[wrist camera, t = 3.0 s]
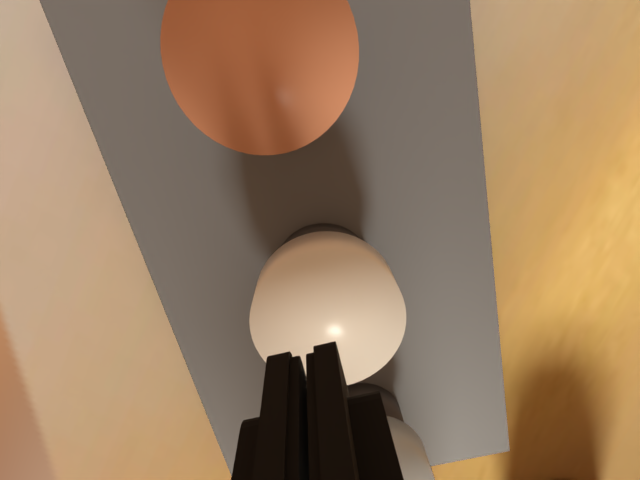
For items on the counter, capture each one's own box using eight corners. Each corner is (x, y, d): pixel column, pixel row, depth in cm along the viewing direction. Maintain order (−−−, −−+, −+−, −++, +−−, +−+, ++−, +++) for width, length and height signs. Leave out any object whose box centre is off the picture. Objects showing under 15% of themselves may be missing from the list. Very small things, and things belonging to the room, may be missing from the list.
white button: (382, 216, 14) (392, 234, 12) (404, 340, 16) (416, 371, 14) (238, 248, 14) (229, 270, 12) (276, 367, 16) (272, 400, 14)
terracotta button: (332, -60, 11) (336, -86, 9) (366, 126, 13) (375, 131, 11) (155, -15, 11) (129, -32, 10) (211, 163, 13) (197, 173, 11)
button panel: (439, -96, 15) (475, -147, 12) (492, 421, 23) (522, 473, 20) (67, 0, 15) (7, -24, 12) (247, 469, 23) (238, 527, 20)
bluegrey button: (416, 402, 17) (428, 438, 15) (432, 491, 18) (444, 532, 17) (294, 427, 17) (293, 465, 15) (322, 512, 18) (323, 555, 17)
